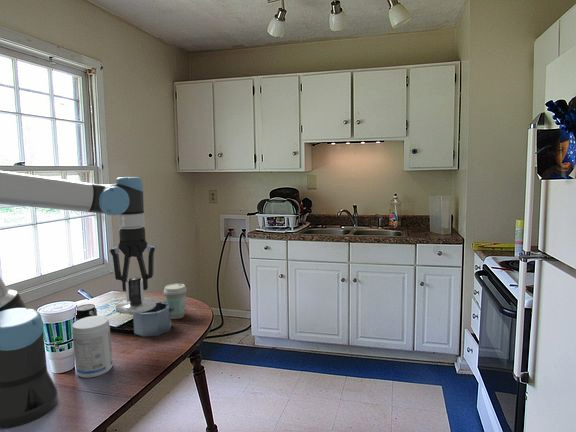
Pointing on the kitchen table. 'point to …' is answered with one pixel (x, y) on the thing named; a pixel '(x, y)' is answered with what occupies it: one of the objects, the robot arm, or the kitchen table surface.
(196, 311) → the kitchen table surface
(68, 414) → the kitchen table surface
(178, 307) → the coffee cup
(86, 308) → the beverage can
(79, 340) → the supplement tub
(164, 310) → the pot
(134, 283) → the lid
